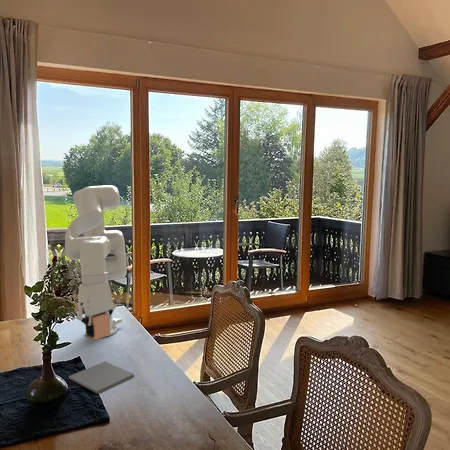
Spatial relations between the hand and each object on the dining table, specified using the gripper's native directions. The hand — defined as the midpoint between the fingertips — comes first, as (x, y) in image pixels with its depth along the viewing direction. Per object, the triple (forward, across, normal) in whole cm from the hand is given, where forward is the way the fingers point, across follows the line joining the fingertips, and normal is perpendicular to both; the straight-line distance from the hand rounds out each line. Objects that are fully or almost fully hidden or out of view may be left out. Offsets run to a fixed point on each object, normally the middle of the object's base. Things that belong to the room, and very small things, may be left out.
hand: (98, 333), depth 145 cm
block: (+1, 0, 0) cm, 1 cm away
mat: (+15, 0, 0) cm, 15 cm away
